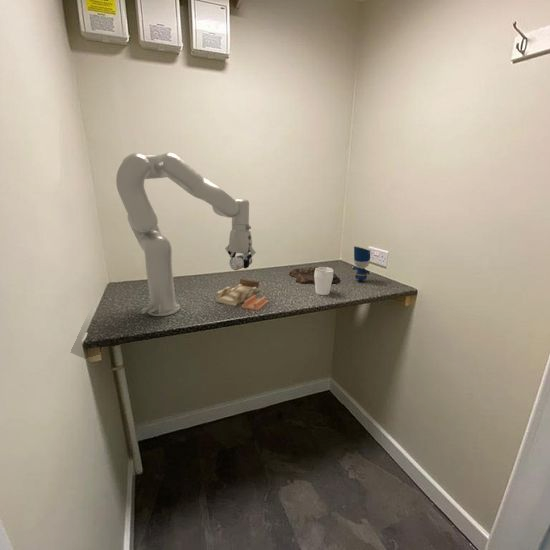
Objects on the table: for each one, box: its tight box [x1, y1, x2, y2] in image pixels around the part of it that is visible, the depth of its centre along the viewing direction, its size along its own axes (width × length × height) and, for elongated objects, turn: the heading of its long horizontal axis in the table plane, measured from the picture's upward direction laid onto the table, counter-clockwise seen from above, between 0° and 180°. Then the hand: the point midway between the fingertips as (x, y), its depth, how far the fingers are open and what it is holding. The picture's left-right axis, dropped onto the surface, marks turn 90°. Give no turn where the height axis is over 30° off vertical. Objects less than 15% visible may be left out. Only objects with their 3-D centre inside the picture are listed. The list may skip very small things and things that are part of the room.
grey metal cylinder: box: [229, 254, 253, 271], centre depth 132 cm, size 10×6×6 cm, turn 152°
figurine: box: [352, 246, 372, 282], centre depth 153 cm, size 13×9×20 cm
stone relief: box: [288, 266, 341, 286], centre depth 162 cm, size 26×4×30 cm
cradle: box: [241, 294, 270, 312], centre depth 124 cm, size 10×8×3 cm
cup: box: [314, 266, 334, 296], centre depth 138 cm, size 9×9×12 cm
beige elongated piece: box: [215, 278, 260, 307], centre depth 133 cm, size 21×10×5 cm, turn 154°
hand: (240, 266), depth 132 cm, fingers closed on grey metal cylinder, 6 cm apart
